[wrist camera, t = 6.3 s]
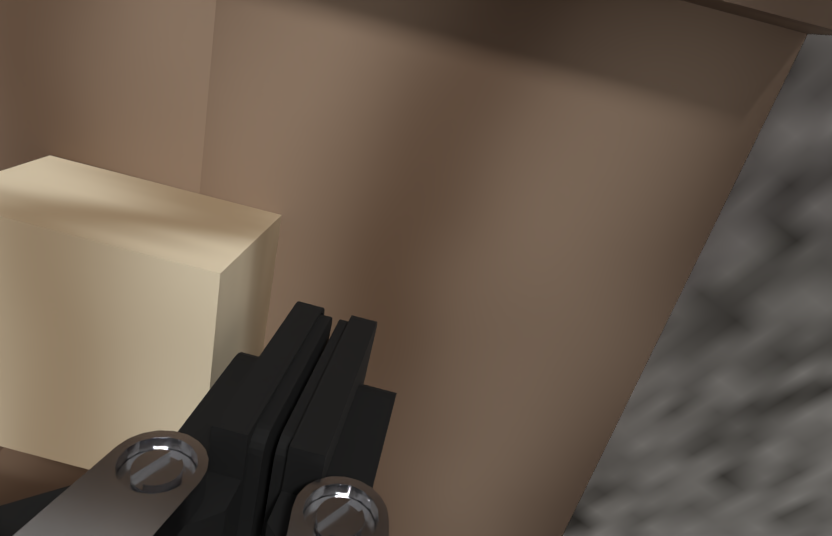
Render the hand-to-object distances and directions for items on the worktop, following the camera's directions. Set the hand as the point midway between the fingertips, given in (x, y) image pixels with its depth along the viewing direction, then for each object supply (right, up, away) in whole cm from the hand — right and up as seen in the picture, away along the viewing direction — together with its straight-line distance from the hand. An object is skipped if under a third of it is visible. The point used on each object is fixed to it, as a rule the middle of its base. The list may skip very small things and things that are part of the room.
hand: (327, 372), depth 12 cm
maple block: (-4, +2, +1) cm, 4 cm away
